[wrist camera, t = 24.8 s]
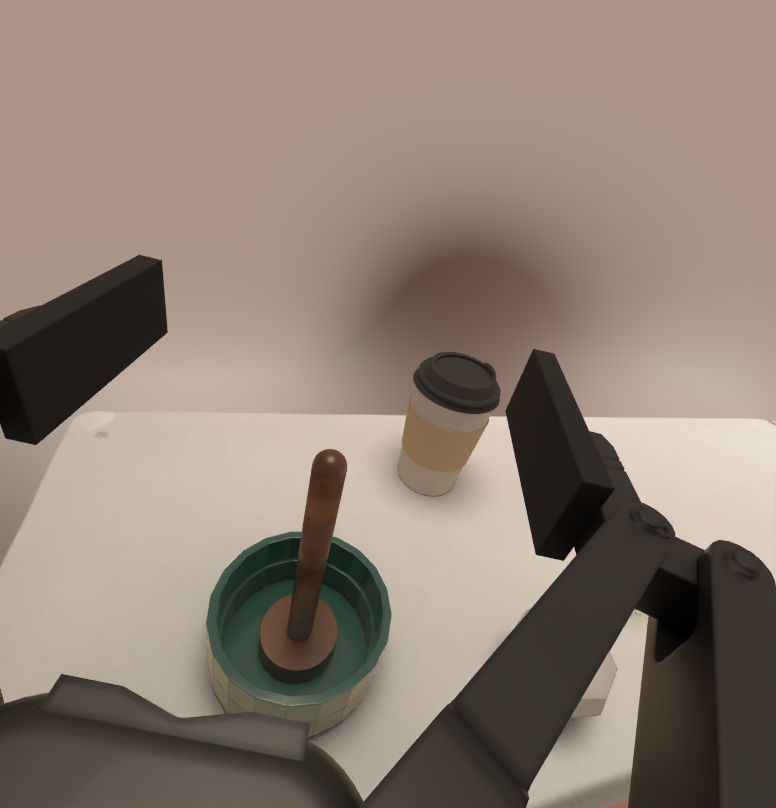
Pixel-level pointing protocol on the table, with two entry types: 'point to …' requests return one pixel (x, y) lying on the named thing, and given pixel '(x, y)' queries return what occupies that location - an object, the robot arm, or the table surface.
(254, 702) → the bowl
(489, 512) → the table surface
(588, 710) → the beige faceted lump
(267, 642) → the paper towel holder
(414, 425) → the coffee cup
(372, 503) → the table surface
